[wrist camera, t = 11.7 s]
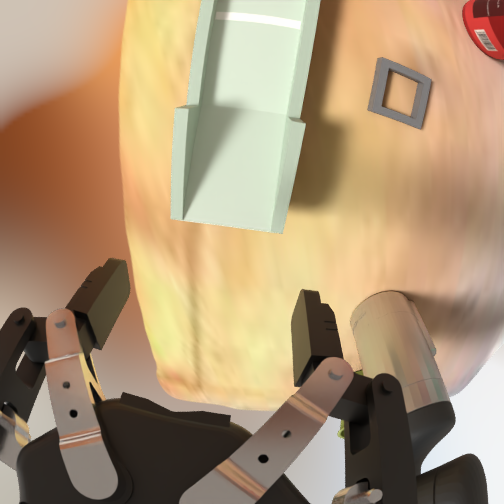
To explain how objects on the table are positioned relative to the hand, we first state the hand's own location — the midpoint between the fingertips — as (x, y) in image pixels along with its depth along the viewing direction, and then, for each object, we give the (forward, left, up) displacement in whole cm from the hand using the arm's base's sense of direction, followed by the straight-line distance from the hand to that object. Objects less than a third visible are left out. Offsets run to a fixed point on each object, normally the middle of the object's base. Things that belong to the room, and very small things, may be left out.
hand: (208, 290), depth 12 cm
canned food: (-24, -25, -17) cm, 39 cm away
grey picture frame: (-14, -11, -17) cm, 24 cm away
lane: (0, -13, -17) cm, 21 cm away
